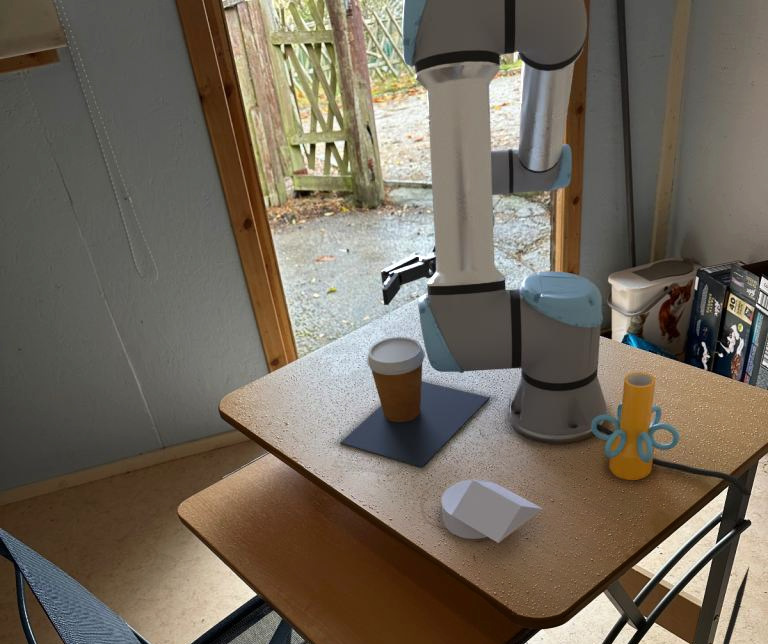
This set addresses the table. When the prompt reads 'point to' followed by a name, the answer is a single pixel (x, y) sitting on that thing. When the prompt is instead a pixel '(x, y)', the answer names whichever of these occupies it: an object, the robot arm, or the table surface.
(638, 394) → the yellow tube with rings
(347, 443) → the mat
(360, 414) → the table surface
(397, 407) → the disposable coffee cup
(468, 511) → the wedge on round base
